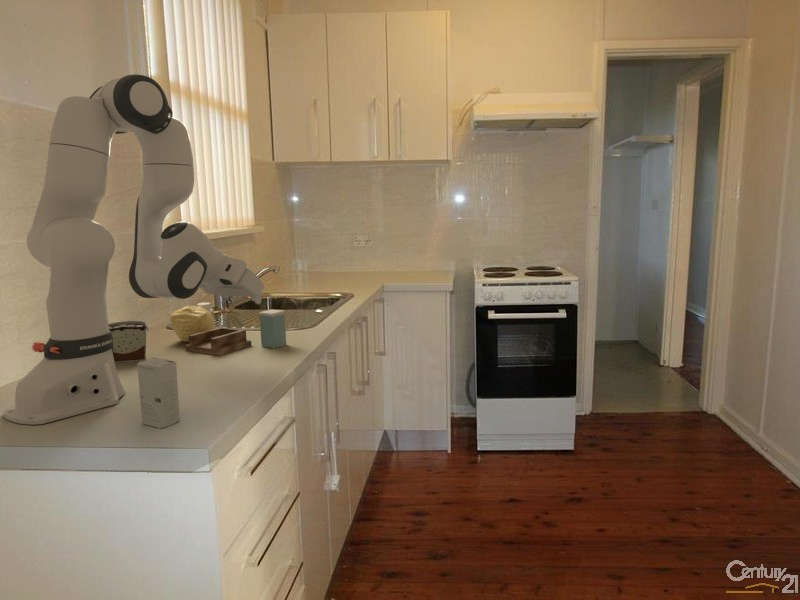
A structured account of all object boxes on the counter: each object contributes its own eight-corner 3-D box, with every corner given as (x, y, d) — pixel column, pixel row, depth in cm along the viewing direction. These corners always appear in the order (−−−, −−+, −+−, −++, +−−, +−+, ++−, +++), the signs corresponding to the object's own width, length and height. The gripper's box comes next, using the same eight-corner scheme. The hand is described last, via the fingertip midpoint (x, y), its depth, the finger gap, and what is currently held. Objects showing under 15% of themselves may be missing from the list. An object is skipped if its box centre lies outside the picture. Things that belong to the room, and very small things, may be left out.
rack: (219, 355, 158) (218, 339, 157) (185, 350, 165) (184, 334, 164) (251, 345, 168) (250, 330, 167) (217, 341, 175) (216, 326, 174)
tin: (274, 348, 164) (272, 313, 162) (261, 346, 167) (258, 312, 165) (286, 344, 168) (284, 310, 167) (273, 342, 171) (271, 309, 169)
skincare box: (140, 424, 109) (134, 362, 107) (160, 416, 113) (154, 356, 111) (163, 429, 106) (156, 366, 104) (182, 421, 110) (176, 360, 108)
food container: (155, 353, 162) (151, 319, 160) (151, 359, 156) (147, 323, 154) (107, 357, 159) (103, 322, 157) (101, 363, 153) (97, 327, 151)
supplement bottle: (193, 336, 181) (190, 304, 179) (203, 332, 187) (200, 301, 185) (209, 337, 180) (206, 305, 178) (218, 333, 185) (216, 302, 183)
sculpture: (166, 343, 172) (163, 308, 170) (189, 334, 184) (186, 301, 182) (201, 345, 170) (198, 310, 168) (221, 335, 181) (219, 302, 179)
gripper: (180, 278, 150) (213, 308, 160) (237, 281, 140) (268, 313, 150) (192, 259, 153) (224, 289, 163) (249, 261, 143) (278, 293, 153)
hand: (245, 301), depth 156 cm, fingers open, 8 cm apart
